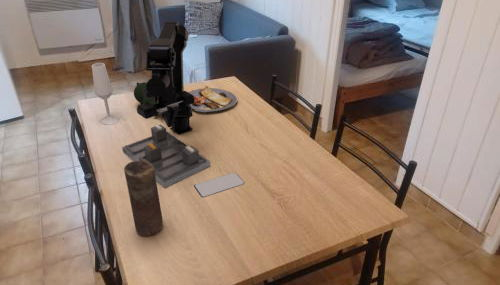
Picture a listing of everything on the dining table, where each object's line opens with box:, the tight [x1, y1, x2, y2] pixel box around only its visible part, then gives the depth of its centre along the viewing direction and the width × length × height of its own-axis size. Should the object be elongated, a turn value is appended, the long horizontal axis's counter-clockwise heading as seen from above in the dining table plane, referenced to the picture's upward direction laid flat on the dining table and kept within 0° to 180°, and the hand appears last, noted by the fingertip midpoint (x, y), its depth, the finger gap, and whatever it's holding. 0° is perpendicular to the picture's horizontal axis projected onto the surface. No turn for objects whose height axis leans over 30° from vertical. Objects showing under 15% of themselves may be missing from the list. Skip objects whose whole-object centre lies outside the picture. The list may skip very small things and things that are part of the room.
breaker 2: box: [182, 145, 200, 166], centre depth 123 cm, size 4×4×5 cm
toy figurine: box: [133, 81, 160, 117], centre depth 157 cm, size 9×19×25 cm
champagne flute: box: [91, 62, 119, 125], centre depth 146 cm, size 7×7×24 cm
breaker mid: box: [144, 143, 162, 163], centre depth 124 cm, size 4×4×5 cm
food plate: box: [187, 86, 238, 113], centre depth 168 cm, size 25×23×4 cm
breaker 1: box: [150, 124, 168, 142], centre depth 135 cm, size 4×4×5 cm
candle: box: [123, 160, 164, 237], centre depth 95 cm, size 8×7×20 cm
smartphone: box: [193, 172, 245, 198], centre depth 117 cm, size 7×1×15 cm
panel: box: [121, 130, 211, 189], centre depth 128 cm, size 18×28×3 cm, turn 43°
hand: (169, 126), depth 124 cm, fingers closed
